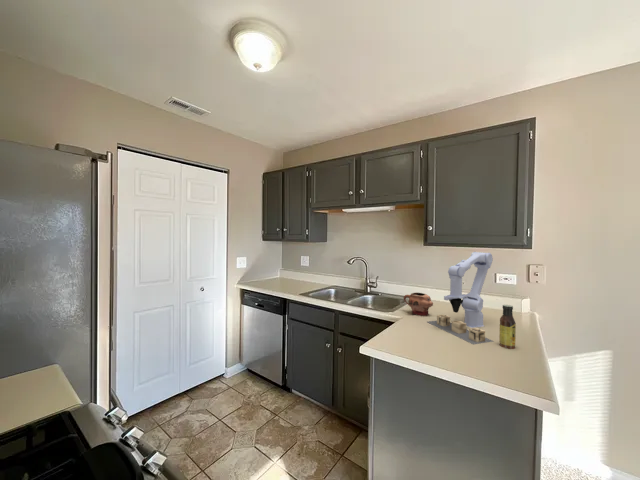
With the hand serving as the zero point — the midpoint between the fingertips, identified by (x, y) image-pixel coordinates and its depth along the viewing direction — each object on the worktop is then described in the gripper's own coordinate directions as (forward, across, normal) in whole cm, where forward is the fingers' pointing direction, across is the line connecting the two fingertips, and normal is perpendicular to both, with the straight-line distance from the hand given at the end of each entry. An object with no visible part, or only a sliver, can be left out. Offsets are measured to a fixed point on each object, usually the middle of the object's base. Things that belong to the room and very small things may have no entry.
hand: (455, 312), depth 148 cm
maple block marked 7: (+10, -1, -15) cm, 18 cm away
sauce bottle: (+11, +6, -25) cm, 28 cm away
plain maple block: (+10, -1, -3) cm, 10 cm away
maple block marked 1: (+10, 0, +8) cm, 13 cm away
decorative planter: (+10, 0, +31) cm, 33 cm away
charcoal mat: (+10, -1, -2) cm, 10 cm away
